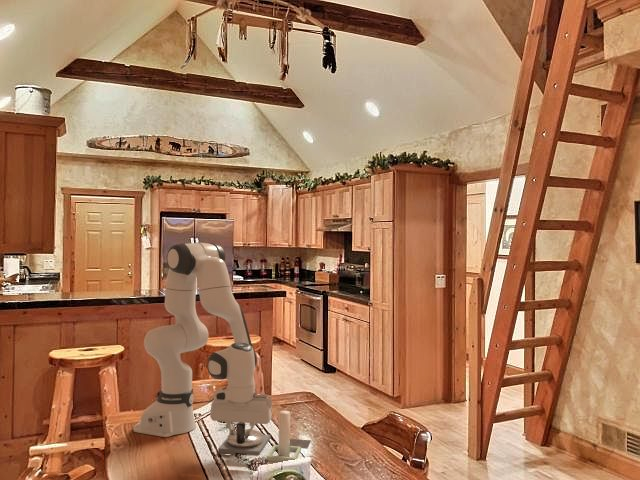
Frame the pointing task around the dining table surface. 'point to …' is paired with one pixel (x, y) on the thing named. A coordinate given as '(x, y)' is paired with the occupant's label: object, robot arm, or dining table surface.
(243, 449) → the crank base
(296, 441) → the socket plate
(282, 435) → the pin
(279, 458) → the tray
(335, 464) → the dining table surface
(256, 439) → the crank
